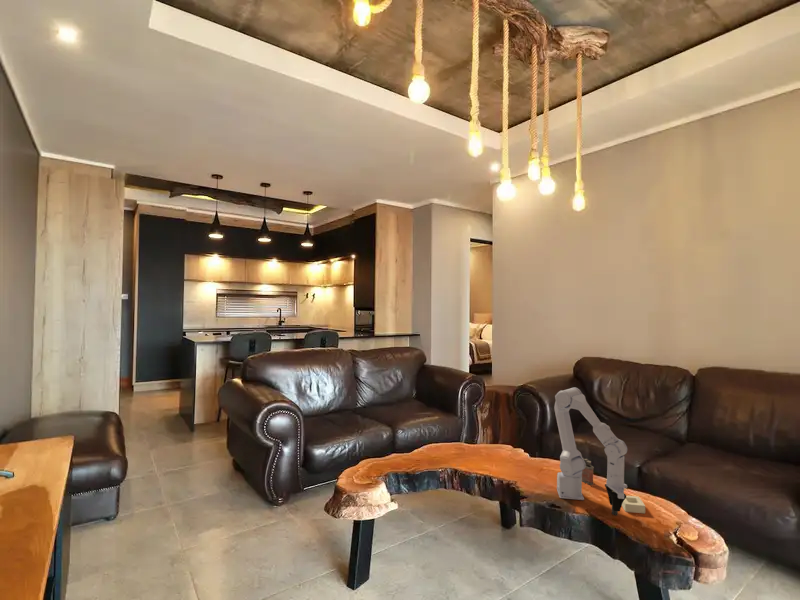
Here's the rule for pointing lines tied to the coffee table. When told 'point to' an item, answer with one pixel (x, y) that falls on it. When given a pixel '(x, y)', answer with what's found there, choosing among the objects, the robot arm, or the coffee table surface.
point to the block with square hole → (633, 504)
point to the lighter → (587, 473)
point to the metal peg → (614, 511)
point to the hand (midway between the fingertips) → (614, 507)
